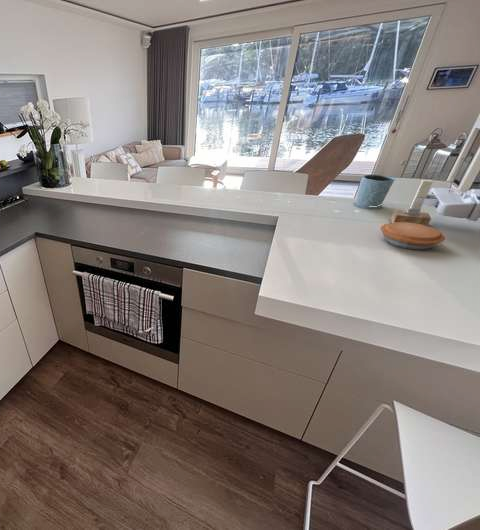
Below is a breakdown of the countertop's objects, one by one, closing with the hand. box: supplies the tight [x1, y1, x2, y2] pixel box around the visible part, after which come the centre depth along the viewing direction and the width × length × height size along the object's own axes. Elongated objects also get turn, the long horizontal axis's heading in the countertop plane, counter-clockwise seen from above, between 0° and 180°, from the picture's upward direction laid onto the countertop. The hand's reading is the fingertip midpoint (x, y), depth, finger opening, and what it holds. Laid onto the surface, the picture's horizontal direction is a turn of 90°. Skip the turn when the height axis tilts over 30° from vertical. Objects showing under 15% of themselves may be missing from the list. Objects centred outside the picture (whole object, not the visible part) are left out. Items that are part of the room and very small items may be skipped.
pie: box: [379, 222, 447, 250], centre depth 93 cm, size 16×16×5 cm
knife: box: [407, 179, 434, 215], centre depth 101 cm, size 3×2×16 cm, turn 56°
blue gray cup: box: [355, 174, 396, 210], centre depth 120 cm, size 10×10×12 cm
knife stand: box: [390, 209, 432, 226], centre depth 104 cm, size 9×6×4 cm, turn 56°
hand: (415, 198), depth 101 cm, fingers closed
